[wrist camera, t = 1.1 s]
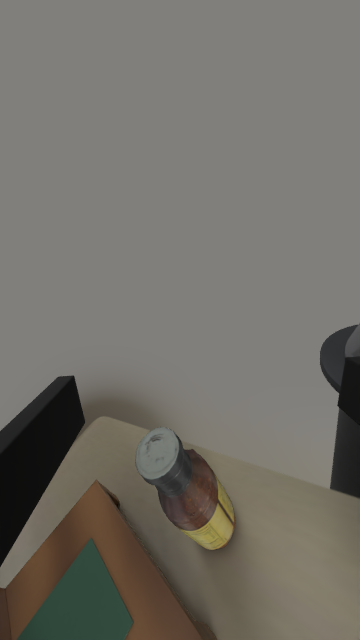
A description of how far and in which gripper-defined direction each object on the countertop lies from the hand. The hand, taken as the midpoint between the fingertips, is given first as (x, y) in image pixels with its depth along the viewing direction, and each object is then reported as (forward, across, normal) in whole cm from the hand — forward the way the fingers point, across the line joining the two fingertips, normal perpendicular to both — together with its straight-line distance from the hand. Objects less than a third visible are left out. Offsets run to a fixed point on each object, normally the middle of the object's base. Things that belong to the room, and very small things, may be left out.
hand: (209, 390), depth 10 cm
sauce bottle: (+10, +1, -27) cm, 29 cm away
